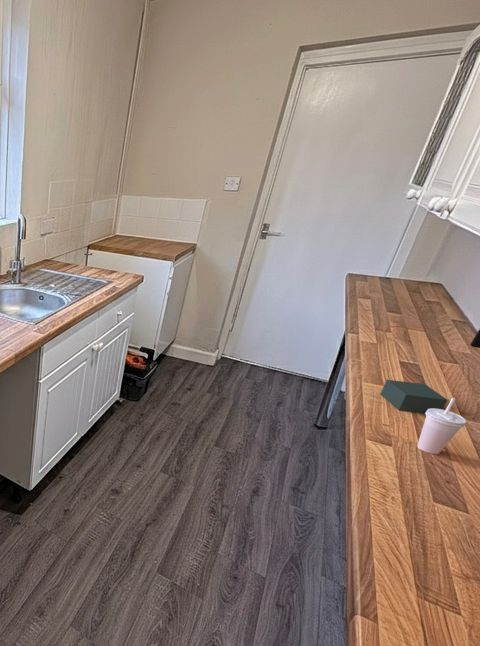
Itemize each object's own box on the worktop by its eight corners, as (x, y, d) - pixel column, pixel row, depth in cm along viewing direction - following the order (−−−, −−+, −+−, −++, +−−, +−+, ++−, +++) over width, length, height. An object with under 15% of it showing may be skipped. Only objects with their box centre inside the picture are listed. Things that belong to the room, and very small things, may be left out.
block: (417, 398, 120) (425, 383, 118) (439, 415, 112) (447, 399, 110) (379, 394, 123) (386, 379, 121) (398, 410, 115) (406, 394, 113)
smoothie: (438, 445, 101) (466, 395, 95) (453, 461, 95) (483, 409, 90) (404, 438, 103) (429, 390, 97) (416, 453, 98) (444, 403, 92)
